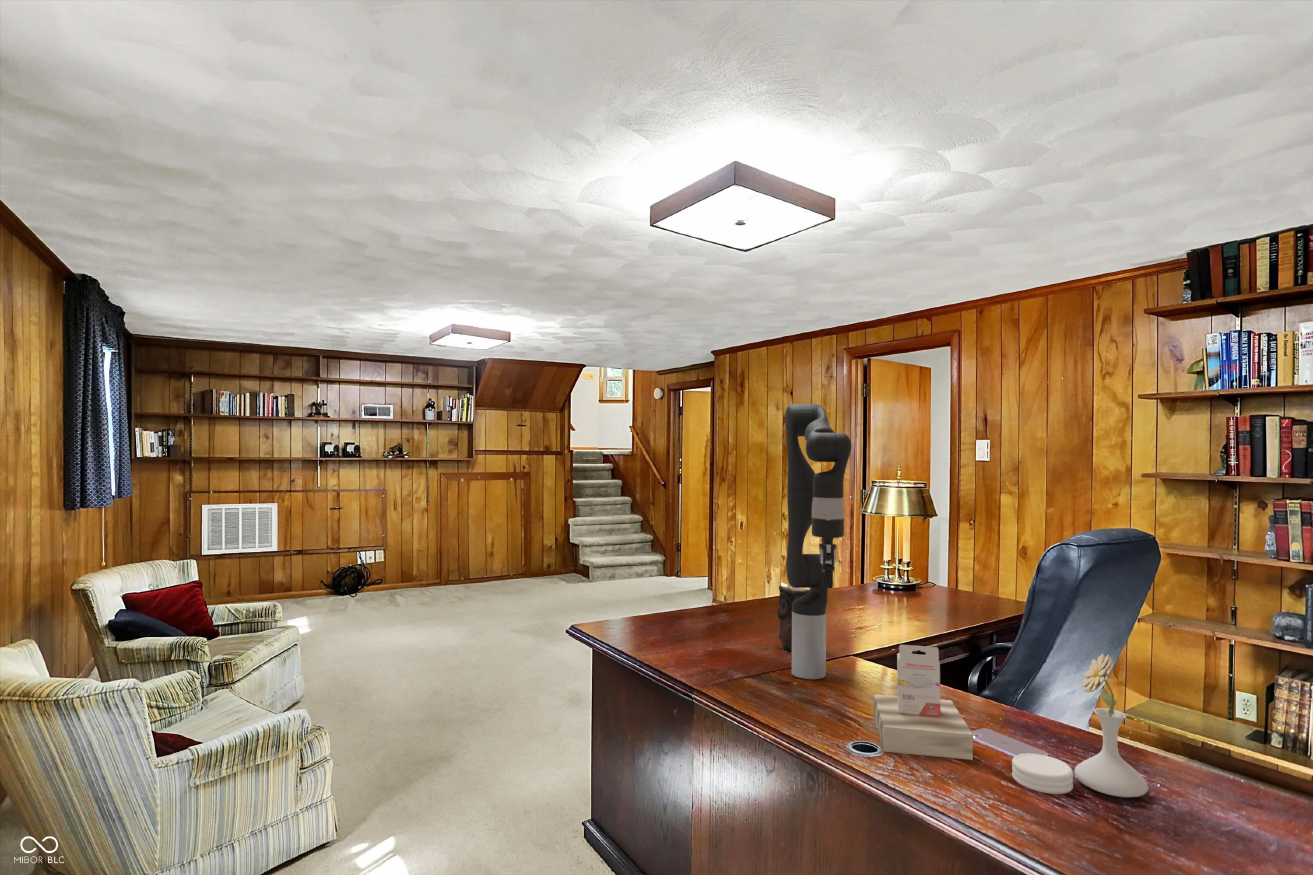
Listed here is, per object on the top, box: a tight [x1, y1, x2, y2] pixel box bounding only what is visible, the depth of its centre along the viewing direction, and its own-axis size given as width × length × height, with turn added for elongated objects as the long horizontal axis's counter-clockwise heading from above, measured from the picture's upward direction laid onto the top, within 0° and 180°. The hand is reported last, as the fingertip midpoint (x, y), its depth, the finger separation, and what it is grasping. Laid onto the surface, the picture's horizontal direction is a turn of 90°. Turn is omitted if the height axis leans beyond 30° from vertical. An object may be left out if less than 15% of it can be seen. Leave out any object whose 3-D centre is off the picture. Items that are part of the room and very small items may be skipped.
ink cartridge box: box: [896, 644, 941, 717], centre depth 151 cm, size 9×5×15 cm, turn 74°
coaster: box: [1011, 753, 1074, 795], centre depth 130 cm, size 10×10×4 cm
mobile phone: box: [970, 727, 1049, 758], centre depth 146 cm, size 8×1×15 cm
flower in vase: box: [1073, 653, 1149, 798], centre depth 127 cm, size 13×11×25 cm
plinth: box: [873, 694, 974, 761], centre depth 150 cm, size 20×17×5 cm
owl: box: [776, 584, 810, 652], centre depth 215 cm, size 13×13×20 cm
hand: (827, 584), depth 164 cm, fingers open, 8 cm apart
